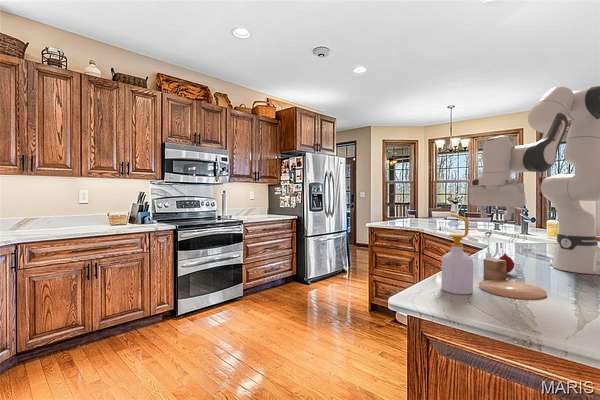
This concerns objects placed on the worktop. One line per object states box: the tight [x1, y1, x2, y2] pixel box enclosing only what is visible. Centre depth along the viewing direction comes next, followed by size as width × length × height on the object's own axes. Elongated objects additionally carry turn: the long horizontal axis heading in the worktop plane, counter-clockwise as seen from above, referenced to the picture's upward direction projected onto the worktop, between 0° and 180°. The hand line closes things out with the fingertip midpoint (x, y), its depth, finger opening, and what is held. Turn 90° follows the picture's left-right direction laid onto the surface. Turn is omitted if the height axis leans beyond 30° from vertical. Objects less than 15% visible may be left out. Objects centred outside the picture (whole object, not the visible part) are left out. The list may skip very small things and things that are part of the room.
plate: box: [478, 279, 548, 300], centre depth 102 cm, size 18×18×1 cm
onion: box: [498, 252, 515, 275], centre depth 123 cm, size 6×6×8 cm
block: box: [483, 257, 507, 281], centre depth 116 cm, size 5×5×7 cm
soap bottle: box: [441, 213, 474, 296], centre depth 101 cm, size 9×9×25 cm
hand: (495, 219), depth 115 cm, fingers open, 8 cm apart
